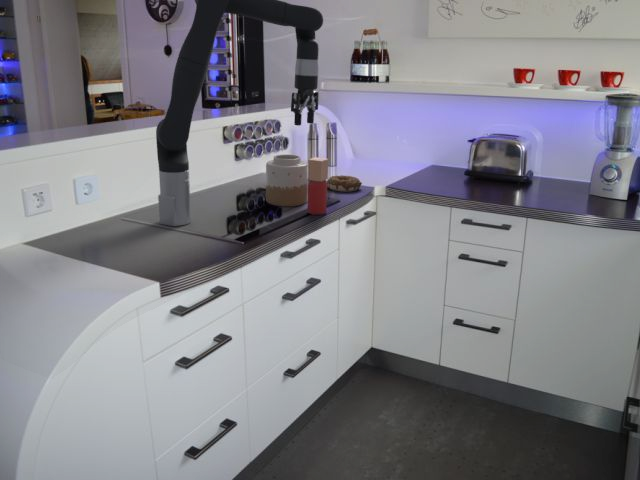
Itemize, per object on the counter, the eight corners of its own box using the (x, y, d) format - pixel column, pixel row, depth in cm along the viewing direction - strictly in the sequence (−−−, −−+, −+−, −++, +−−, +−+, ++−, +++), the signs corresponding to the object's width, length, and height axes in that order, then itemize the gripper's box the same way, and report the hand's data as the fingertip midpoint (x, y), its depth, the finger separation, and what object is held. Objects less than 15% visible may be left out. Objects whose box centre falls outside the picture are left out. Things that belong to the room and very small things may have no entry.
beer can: (324, 216, 207) (325, 182, 203) (305, 214, 208) (306, 180, 204) (327, 211, 213) (329, 178, 209) (309, 209, 214) (310, 176, 210)
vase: (311, 198, 230) (313, 155, 225) (299, 208, 216) (300, 162, 211) (274, 194, 234) (274, 151, 228) (259, 204, 220) (259, 158, 214)
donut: (323, 191, 241) (323, 179, 240) (331, 184, 254) (331, 172, 252) (358, 194, 238) (359, 182, 237) (364, 187, 251) (365, 175, 249)
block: (320, 181, 204) (321, 161, 201) (307, 179, 206) (308, 159, 203) (327, 178, 208) (328, 158, 206) (314, 177, 210) (315, 157, 208)
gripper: (306, 75, 188) (303, 127, 193) (326, 74, 200) (323, 123, 205) (285, 73, 191) (283, 124, 196) (307, 72, 203) (304, 121, 208)
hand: (304, 124), depth 200 cm, fingers open, 8 cm apart
